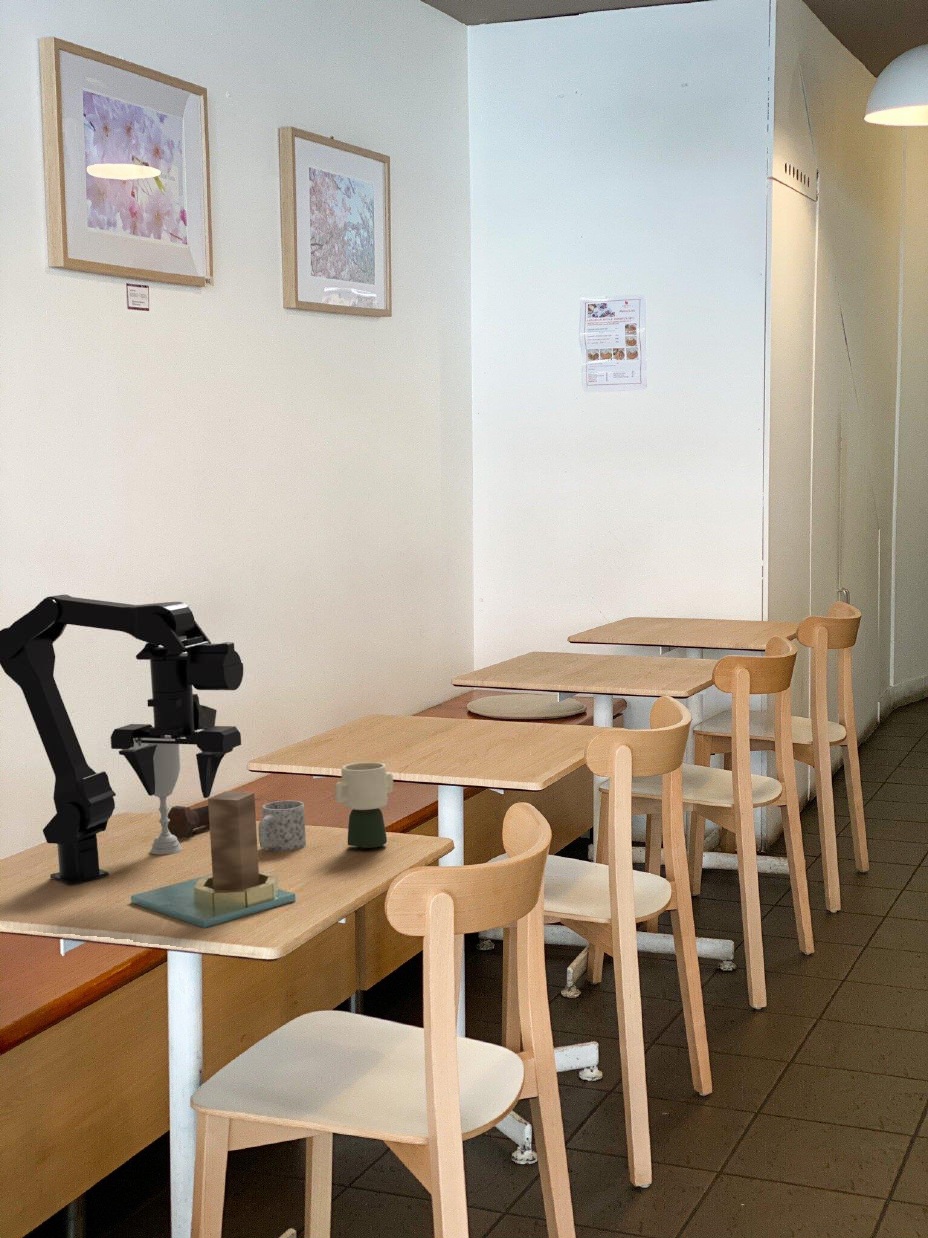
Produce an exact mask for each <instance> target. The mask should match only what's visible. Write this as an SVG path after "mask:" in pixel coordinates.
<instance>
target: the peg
mask: <svg viewBox="0 0 928 1238" xmlns="http://www.w3.org/2000/svg"><path fill="white" fill-rule="evenodd" d="M255 800H256V799H255V792H243V791H224V792H221V793H218V794H216V795H214V796H211V797H208V799H207V804H208V805H207V806H208V807H209V836H210V837H209V839H210V854H211V855H210V856H211V870H212V873H211V874H213V889H214V890H218V891H219V890H244V889H248V888H251V887H255V886H258V885H259V870H260V869H259V853H258V837H257V820H256V819H257V817H256V801H255Z"/></svg>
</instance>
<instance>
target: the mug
mask: <svg viewBox="0 0 928 1238" xmlns="http://www.w3.org/2000/svg"><path fill="white" fill-rule="evenodd" d="M261 810H262V814H261V815H262V819H260V821H259V822H258V841H259V842H258V843H259V847H260V848H261V849H263V850H266V851H271V852H291V851H295V850H299V849H302V848H305V847H306V845H307V839H306V838H307V837H306V821H305V820H306V819H305V815H306V814H305V803H304V802H303V801H300V800H279V801H277V800H276V801H272V802H268V803H265V804H263V805H262V806H261Z"/></svg>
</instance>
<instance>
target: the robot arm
mask: <svg viewBox="0 0 928 1238" xmlns="http://www.w3.org/2000/svg"><path fill="white" fill-rule="evenodd" d="M68 625H72V626H78V627H79V626H80V627H85V628H95V629H100V630H102V629H103V630H110V631H116V632H122V633H125V634H128V635H130V636H132V637H133V638H135V639H136V640H139V641H141V642H144V643H145V645H144V647H143V648H142V649H141V650H140V652H138V653H137V654H136V656H135V658H136V660H139V661H140V660H141V661H142V660H144V661H149V664H150V667H149V668H150V680H151V681H150V682H151V694H152V695H151V697H152V698H148V699H147V707H149V708H150V707H151V708H152V711H153V725H154V726H153V725H152V724H149V723H147V724H146V723H143V724H142V723H131V724H126V725H124V726H121V727H120V726H119V727H118V728H114V729H113V731H112V732H111V735H110V737H109V738H110V748H111V749H112V750H119V751H118V754H119V755H120V756H123V757H124V758H125V759H126V761H127V763H129V765H130V766H131V767H132V769H133V771H134V772H135V775H137V777H138V779H139V781H140V783H141V784H142V786H143V787H144V789H145V792H146V793H147V795H148V796H149V797H150V796H151V797H152V796H154V794H155V774H154V760H153V757H154V753H155V750H156V747H157V744H149V743H159V744H179V745H194V746H195V745H196V747H197V748H198V749H199V750H200V751H201V752H198V753H196V754H195V757H196V764H197V772H198V777H199V784H200V785H199V786H200V790H201V795H202V796H203V799H207V798H208V799H209V798H210V796H211V794H212V790H213V786H214V783H215V780H216V779H215V778H216V775H217V772H218V769H219V766H220V765H221V762H222V760H223V758H224V757H225V755H227V754H228V753H231V752H233V750H234V748H236V747H239V746H241V745H242V735H241V732H240V731H239V730H238V728H237V726H232V725H231V726H230V725H229V726H228V725H216V719H217V711H218V710H217V709H215V708H213V707H209V706H207V705H205V704H204V705H203V704H201V703H200V697H199V694H198V693H193V691H194V690H193V688H194V689H196V690H197V691H236V690H238V689H239V688H240V686H241V685H242V683H243V678H244V664H243V663H242V658H241V657H240V655H239V653H238V652H237V651H236V650H235V643H234V642H233V641H230V642H229V641H228V642H227V641H226V642H220V643H212V642H211V640H210V639H209V638H208V636H207V635H206V634H205V632H204V631H203V629H202V628H201V626H200V625H199V624H198V623H197V622H196V620H195V616H194V614H193V611H192V610H191V608H190V607H189V605H188V604H186V603H185V602H181V601H169V602H168V601H167V602H156V603H155V602H154V603H145V604H144V603H143V604H130V603H122V602H114V601H107V600H100V599H98V600H97V599H91V598H82V597H75V596H71V595H69V594H59V595H58V594H57V595H51V596H47V597H44V598H43V599H42V600H41V601H40V602H39V603H38V604H37V605H35V607H34V608H33V609H31V610H30V611H28V612H27V613H25V614H24V615H22V616H21V617H20V618H18V619H17V620H16V621H14V622H13V623H12V624H11V625H9V626H8V627H5V628H2V629H1V630H0V667H1V668H2V670H3V672H4V673H5V675H7V676H8V677H9V678H10V679H11V680H12V681H13V682H14V683H16V685H18V686H19V687H20V689H21V691H22V694H23V696H24V699H25V702H26V705H27V707H28V710H29V712H30V714H31V716H32V721H33V723H34V725H35V727H36V730H37V733H38V735H39V737H40V740H41V743H42V745H43V748H44V750H45V753H46V756H47V759H48V761H49V765H50V766H51V768H52V771H53V774H54V778H55V779H54V780H55V781H54V786H53V787H54V790H53V796H52V799H53V803H54V806H55V807H54V808H55V812H56V814H55V815H54V816H53V817H52V818H51V819H50V821H49V822H48V823H47V824H46V825H45V826H44V828H43V829H42V834H43V835H44V838H45V841H46V843H47V844H56V845H57V859H58V872H54V873H51V874H50V875H49V876H50V879H52V880H56V881H58V882H62V883H65V884H68V885H75V884H79V883H83V882H87V881H91V880H95V879H100V878H103V877H107V876H109V875H110V872H109V871H107V870H104V869H100V861H99V860H100V859H99V858H100V857H99V847H98V838H97V837H98V835H97V834H98V833H101V832H105V831H106V830H107V826H108V822H109V820H110V818H111V817H112V815H113V813H114V810H115V809H116V803H115V798H114V797H115V796H117V794H116V792H115V791H114V790H113V789H112V787H111V784H110V779H109V776H108V774H107V772H106V771H105V770H103V771H100V772H96V771H95V770H94V769H93V768H92V767H91V766H89V764H88V763H87V760H86V757H85V755H84V752H83V749H82V747H81V745H80V742H79V739H78V736H77V734H76V732H75V728H74V726H73V724H72V720H71V719H70V716H69V713H68V711H67V708H66V706H65V703H64V701H63V700H64V699H63V698H62V696H61V693H60V690H59V688H58V684H57V683H56V680H55V676H54V672H55V666H56V665H55V663H56V651H55V647H54V643H55V642H56V641H58V639H59V638H60V637H61V636H62V635H63V633H64V631H65V629H66V628H67V626H68ZM198 730H200V731H198ZM165 736H171V737H170V738H169V737H167V738H166V737H165Z"/></svg>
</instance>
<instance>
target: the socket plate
mask: <svg viewBox="0 0 928 1238" xmlns="http://www.w3.org/2000/svg"><path fill="white" fill-rule="evenodd" d="M278 876H279V875H277V874H275V873H272V872H268V871H264V870H260V869H259V885H258V886H255V887H251V888H248V889H244V890H219V891H218V890H214V889H213V874H212V873H211V874H210V873H209V874H207V875H204V876H200V877H196V878H193V879H189V880H185V881H181V882H178V883H173V884H169V885H166V886H162V887H158V888H154V889H151V890H148V891H143V892H140V893H136V894H133V895H130V902H131V903H132V904H134V905H137V906H140V907H143V908H146V909H148V910H151V911H154V912H157V913H161V914H162V915H166V916H169V917H171V918H174V919H177V920H180V921H182V922H186V923H189V924H192V925H194V926H197V927H201V928H203V929H205V928H208V927H212V926H216V925H218V924H222V923H226V922H229V921H233V920H235V919H239V918H242V917H246V916H250V915H253V914H256V913H259V912H263V911H266V910H270V909H272V908H276V907H280V906H283V905H286V904H290V903H293V902H296V899H297V898H296V893H294V892H291V891H287V890H283V889H280V888H279V877H278Z"/></svg>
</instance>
